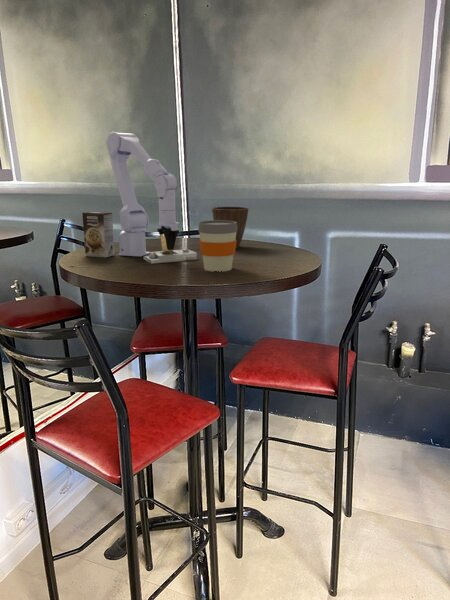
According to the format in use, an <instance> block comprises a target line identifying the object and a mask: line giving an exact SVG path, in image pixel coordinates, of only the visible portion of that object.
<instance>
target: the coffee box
mask: <svg viewBox="0 0 450 600" xmlns="http://www.w3.org/2000/svg"><path fill="white" fill-rule="evenodd" d="M81 214H82V227H83V238H84V239H83V241H84V252H85V257H92V258H93V257H94V258H95V257H96V258H105V259H106V258H108V257H111V256H115V242H114V240H115V239H114V221H113V212H109V211H108V212H107V211H83V212H82V213H81Z"/></svg>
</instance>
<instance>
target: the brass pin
mask: <svg viewBox="0 0 450 600" xmlns="http://www.w3.org/2000/svg"><path fill="white" fill-rule="evenodd" d="M159 236H161V237H160V244H161V251H162V254H164V255H167V254H173V250H168V249H167V245H166V239H165V236H164V234H161V235H160V234H159Z"/></svg>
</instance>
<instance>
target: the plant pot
mask: <svg viewBox="0 0 450 600" xmlns="http://www.w3.org/2000/svg"><path fill="white" fill-rule="evenodd" d="M211 211H212V212H211V214H212V219H213V220H224V221H234V222H237V232H236V240H237V241H236V249H239V248H240V245H241V243H242V240H243V236H244V233H245V229H246V227H247V221H248V215H249V207H245V206H244V207H243V206H216V207H212V208H211Z"/></svg>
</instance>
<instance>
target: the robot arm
mask: <svg viewBox="0 0 450 600" xmlns="http://www.w3.org/2000/svg"><path fill="white" fill-rule="evenodd" d="M105 144H106V147H107V152H108V154H109V160H110V164H111V168H112V172H113V175H114V178H115V181H116V184H117V185H116V187H117V188H118V193H119V196H120V200H121V203H122V208H121V209H120V211H118V212H119V213H118V214H119V215H118V216H119V224H120V226H121V228H122V231H120V233H119V234H118V235H119V236H118V245H119V247H118V248H119V253H118V256H127V257H130V256H131V257H142V256H143V257H144V256H147V255H149V252H150V251H147V246H146V231H147V228H148V227H149V225H150V218H149V215H148V214H147V212H146V211H145V207H143V206H142V205H141V204H140V203H138V199H137V196H136V192H135V189H134V188H135V187H134V185H133V181H132V177H131V174H130V171H129V166H128V163H127V161H128V160H129V159H130V158H131V157H132V156H134V157H135V158H136V159H137V160H138V161H139V162H140V163H141V165H143V171H144V172H145V173H146V175H147V176H149V178H150V179H151V180H152V181H153V184H154V189H155V190H156V196H157V197H158V216H159V219H158V227H160V228H156V231H157V232H158V234H159V236H160V235H161V234H164V236H165V239H166V245H167V249H168V250H175V245H176V241H177V238H178V234H179V233H180V229H178V228H179V227H178V225H180V222H178V221H176V220H177V218H176V214H177V213H176V211H177V210H176V191H177V189H178V187H179V180H178V178H177V176H176V174H173V173H170V172H169V171H168V170H167V169H165V167H164V166H163V165H162V164H161V161H160V160H159V159H155V158H151V156H150V154H149V153H148V152H147V151H146V149H145V148H144V147H143V146H142V145H141V143H140V139H139V137H137V135H136V134H134V133H132V132H129V133H128V132H127V133H126V132H125V133H124V132H116V131H111V132H110V133H109V134H108V136H107V139H106V142H105ZM160 238H161V236H160Z"/></svg>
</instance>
